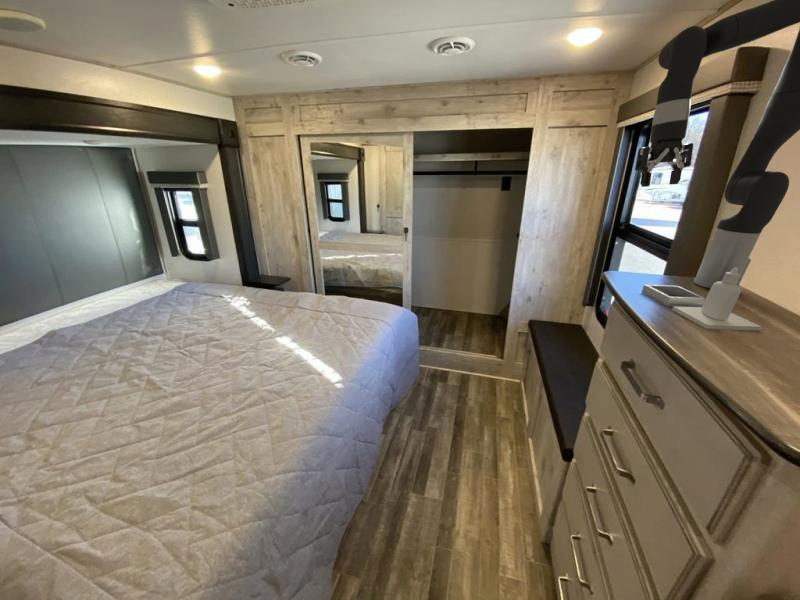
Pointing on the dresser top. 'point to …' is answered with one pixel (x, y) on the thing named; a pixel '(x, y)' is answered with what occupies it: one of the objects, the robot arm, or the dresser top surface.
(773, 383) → the dresser top surface
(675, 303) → the grey square tray
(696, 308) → the cream pad
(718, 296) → the eye dropper bottle
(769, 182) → the robot arm
